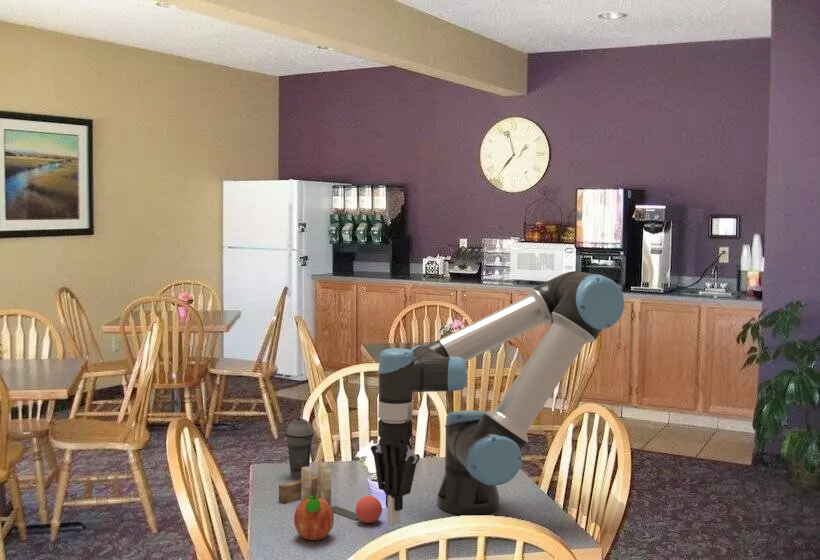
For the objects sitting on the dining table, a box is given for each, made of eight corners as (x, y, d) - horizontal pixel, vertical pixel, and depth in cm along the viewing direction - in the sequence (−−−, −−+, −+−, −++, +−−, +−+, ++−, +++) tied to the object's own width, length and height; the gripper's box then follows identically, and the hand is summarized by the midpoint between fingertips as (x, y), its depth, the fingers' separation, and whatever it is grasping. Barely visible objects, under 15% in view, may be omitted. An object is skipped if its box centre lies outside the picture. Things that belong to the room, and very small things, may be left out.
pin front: (332, 505, 217) (332, 469, 216) (327, 508, 215) (328, 471, 214) (323, 504, 218) (324, 467, 217) (319, 507, 216) (319, 470, 215)
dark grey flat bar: (364, 517, 210) (364, 516, 210) (355, 520, 207) (355, 519, 207) (335, 506, 216) (335, 505, 216) (326, 509, 214) (326, 508, 214)
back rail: (316, 490, 228) (316, 475, 228) (321, 492, 227) (321, 476, 226) (278, 501, 220) (278, 485, 219) (283, 503, 218) (283, 487, 218)
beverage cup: (298, 470, 244) (299, 398, 242) (319, 476, 240) (319, 402, 238) (279, 477, 238) (280, 403, 237) (300, 482, 234) (300, 407, 232)
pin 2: (328, 498, 222) (328, 463, 221) (323, 501, 220) (324, 465, 219) (320, 497, 223) (320, 461, 222) (315, 500, 221) (315, 464, 220)
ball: (386, 520, 208) (386, 494, 207) (374, 528, 202) (374, 502, 202) (362, 516, 210) (363, 491, 210) (350, 524, 205) (351, 498, 204)
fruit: (334, 530, 201) (335, 486, 200) (332, 546, 192) (332, 500, 191) (296, 530, 201) (296, 486, 200) (291, 546, 192) (291, 500, 191)
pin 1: (313, 503, 218) (313, 467, 218) (308, 506, 216) (308, 469, 215) (304, 502, 219) (304, 465, 219) (299, 505, 217) (299, 468, 216)
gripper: (428, 421, 197) (427, 526, 199) (385, 411, 206) (384, 512, 208) (405, 427, 191) (404, 535, 194) (362, 417, 200) (361, 520, 202)
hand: (393, 523), depth 201 cm, fingers closed
